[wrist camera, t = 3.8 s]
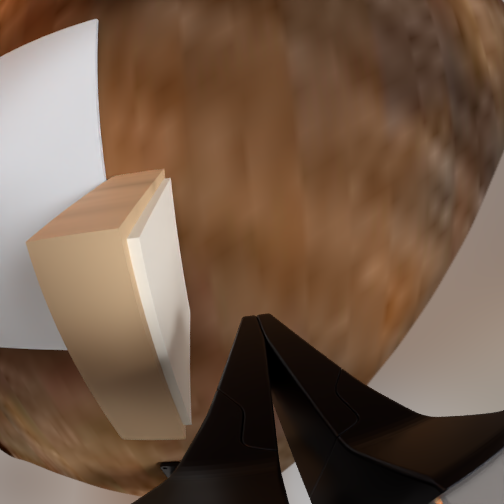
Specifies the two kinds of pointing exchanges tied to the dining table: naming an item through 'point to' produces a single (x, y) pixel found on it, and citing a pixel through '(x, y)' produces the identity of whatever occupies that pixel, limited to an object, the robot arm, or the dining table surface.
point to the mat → (43, 165)
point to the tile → (122, 301)
